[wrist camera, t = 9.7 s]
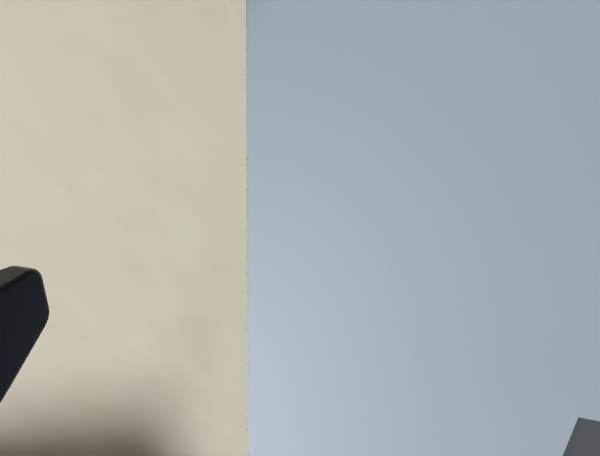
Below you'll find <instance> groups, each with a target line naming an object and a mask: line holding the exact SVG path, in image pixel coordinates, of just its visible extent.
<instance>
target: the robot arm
mask: <svg viewBox="0 0 600 456" xmlns="http://www.w3.org/2000/svg"><path fill="white" fill-rule="evenodd" d="M48 316H49V307H48V302H47V298H46V293H45V289H44V284H43V280H42V276H41V274H40V273H39V271H37V270H35V269H32V268H27V267H21V266H11V267H7V268H5V269H2V270H0V402H1V401H2V399H3V397H4V396H5V394H6V393H7V391H8V389H9V388H10V386H11V384H12V382H13V381H14V379H15V377H16V376H17V374H18V372H19V370H20V369H21V367H22V365H23V363H24V362H25V360H26V358H27V356H28V355H29V353H30V351H31V350H32V348H33V346H34V344H35V343H36V341H37V339H38V337H39V336H40V334H41V332H42V330H43V329H44V327H45V325H46V323H47V320H48Z"/></svg>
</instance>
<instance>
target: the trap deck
mask: <svg viewBox="0 0 600 456" xmlns="http://www.w3.org/2000/svg"><path fill="white" fill-rule="evenodd" d="M246 75H247V293H248V456H600V0H246Z"/></svg>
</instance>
